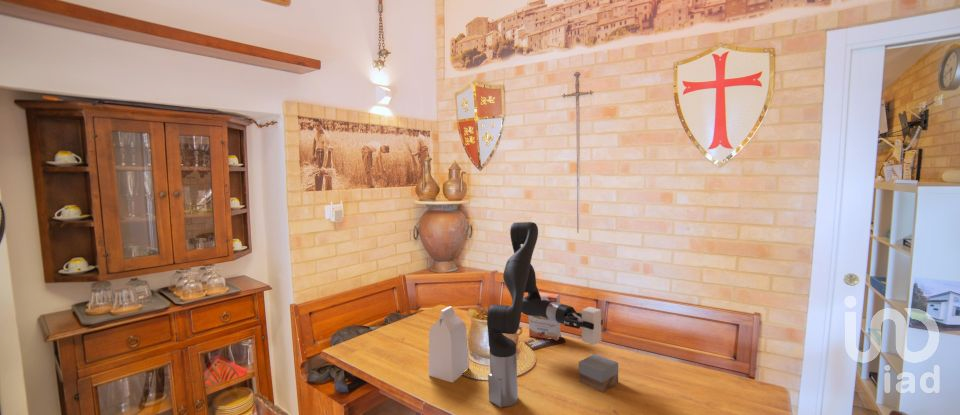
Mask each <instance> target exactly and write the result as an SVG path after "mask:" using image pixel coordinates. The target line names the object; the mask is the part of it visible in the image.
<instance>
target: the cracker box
mask: <svg viewBox="0 0 960 415" xmlns="http://www.w3.org/2000/svg"><path fill="white" fill-rule="evenodd" d="M539 294H540V297H541V300H548V301H551V302H556V303H561V294H556V293H550V292H541V291H539ZM528 333H529V334H528V336H529V337H534V338H539V339H543V338H551V339H554V340H555V342H557V341H559V339H560V338H559V337H561V323H558V322H555V321H552V320H550V319H548V318H545V317H542V316H529V315H528ZM554 340H553V341H554Z"/></svg>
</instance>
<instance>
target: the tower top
mask: <svg viewBox="0 0 960 415" xmlns="http://www.w3.org/2000/svg"><path fill="white" fill-rule="evenodd" d="M579 372H580V373H582V374H584V375H586V376H589V377H591V378H593V379H595V380H597V381H600V382H602V383H603V382H604V381H606V380H608V379H609V378H611V377H613V376H614V375H616V374H618V375H619V362H617V361H615V360H612V359H610V358H607V357H605V356H602V355H599V354H597V353H593V354H591V355H589V356H587V357H586V358H583V359H581V360H579V361H578V373H579Z"/></svg>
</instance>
